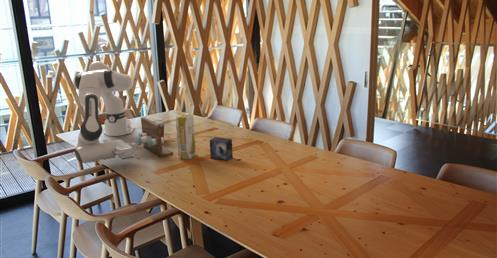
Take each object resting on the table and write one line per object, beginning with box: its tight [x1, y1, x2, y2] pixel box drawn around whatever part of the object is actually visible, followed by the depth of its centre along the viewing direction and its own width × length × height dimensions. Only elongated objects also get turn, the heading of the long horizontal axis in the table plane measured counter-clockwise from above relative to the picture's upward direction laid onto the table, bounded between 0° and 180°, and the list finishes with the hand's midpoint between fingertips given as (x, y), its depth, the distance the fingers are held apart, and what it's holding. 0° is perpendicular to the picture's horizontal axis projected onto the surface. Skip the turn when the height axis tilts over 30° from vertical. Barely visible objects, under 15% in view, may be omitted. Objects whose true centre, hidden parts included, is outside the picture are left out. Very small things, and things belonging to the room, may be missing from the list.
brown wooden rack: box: [140, 116, 174, 159], centre depth 236 cm, size 8×23×18 cm, turn 34°
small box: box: [209, 136, 234, 162], centre depth 222 cm, size 11×6×10 cm, turn 62°
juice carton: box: [175, 112, 196, 160], centre depth 224 cm, size 9×8×24 cm
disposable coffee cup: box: [152, 119, 166, 139], centre depth 256 cm, size 10×10×12 cm
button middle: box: [136, 136, 152, 146], centre depth 232 cm, size 8×4×4 cm, turn 124°
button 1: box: [138, 132, 147, 137], centre depth 240 cm, size 8×4×4 cm, turn 124°
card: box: [118, 154, 134, 160], centre depth 233 cm, size 6×12×1 cm, turn 34°
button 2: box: [148, 137, 165, 147], centre depth 229 cm, size 8×4×4 cm, turn 124°
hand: (135, 144), depth 222 cm, fingers closed
